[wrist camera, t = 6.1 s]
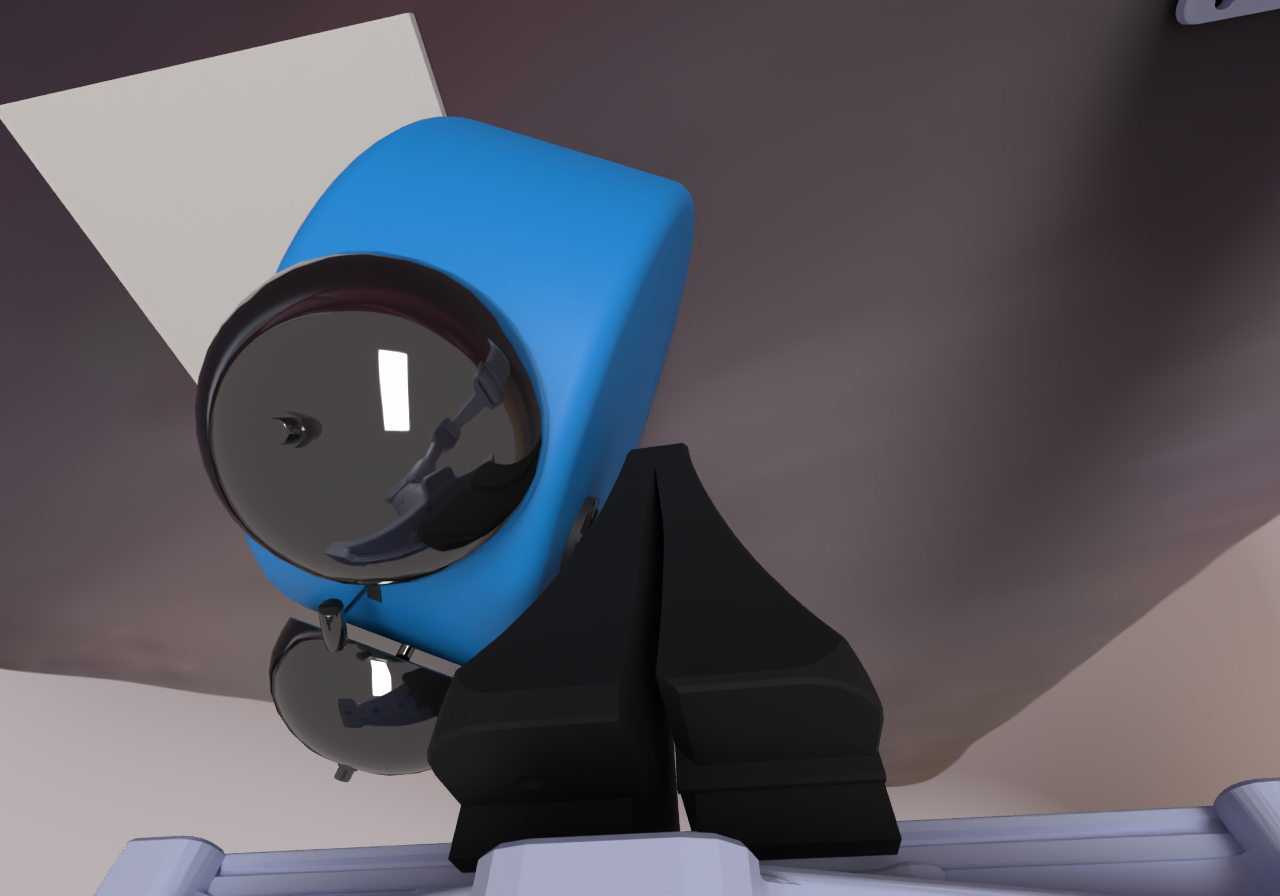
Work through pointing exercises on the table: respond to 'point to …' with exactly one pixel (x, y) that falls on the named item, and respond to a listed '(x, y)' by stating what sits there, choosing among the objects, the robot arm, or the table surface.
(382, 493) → the alarm clock
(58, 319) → the table surface
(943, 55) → the table surface
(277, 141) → the mat
